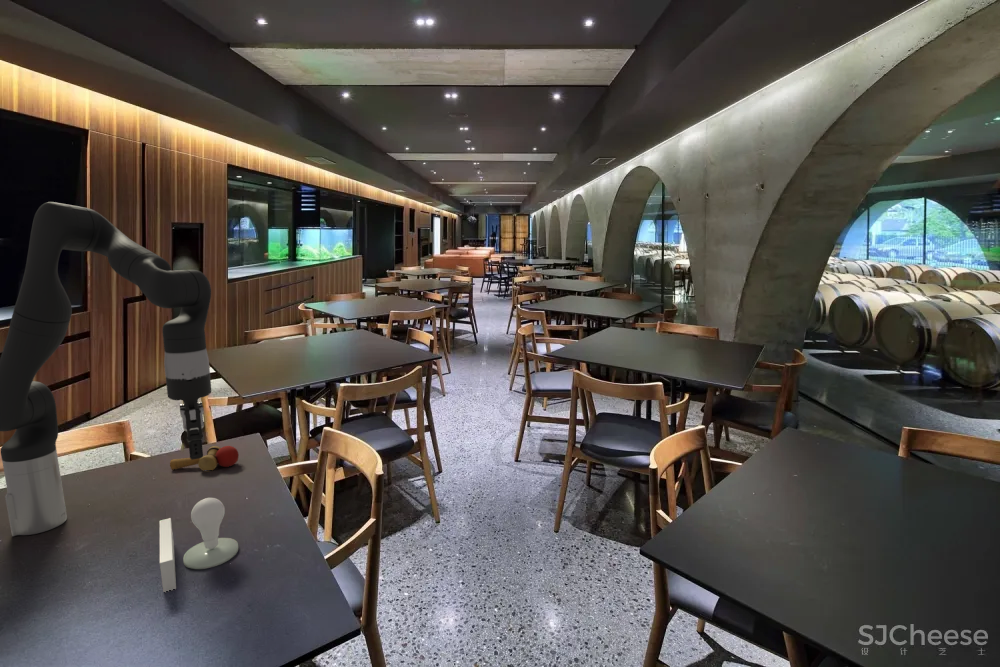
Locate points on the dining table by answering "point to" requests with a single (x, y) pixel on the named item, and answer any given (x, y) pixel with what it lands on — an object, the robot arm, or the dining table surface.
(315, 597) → the dining table surface
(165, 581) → the wall
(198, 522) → the lightbulb
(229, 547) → the pad
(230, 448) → the kendama
